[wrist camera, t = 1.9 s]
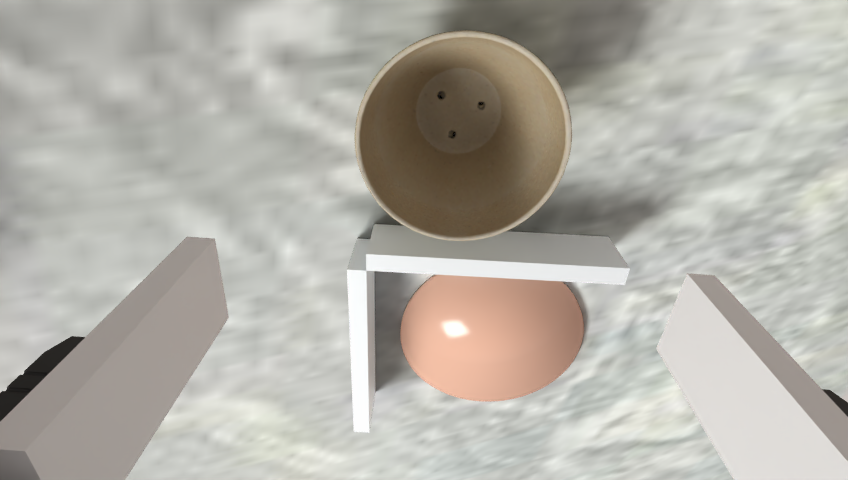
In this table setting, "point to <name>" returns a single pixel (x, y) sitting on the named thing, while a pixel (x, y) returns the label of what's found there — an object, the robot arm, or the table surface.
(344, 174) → the table surface
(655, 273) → the table surface
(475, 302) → the coaster
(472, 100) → the flower pot
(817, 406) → the robot arm
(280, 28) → the table surface
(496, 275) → the acrylic walls
